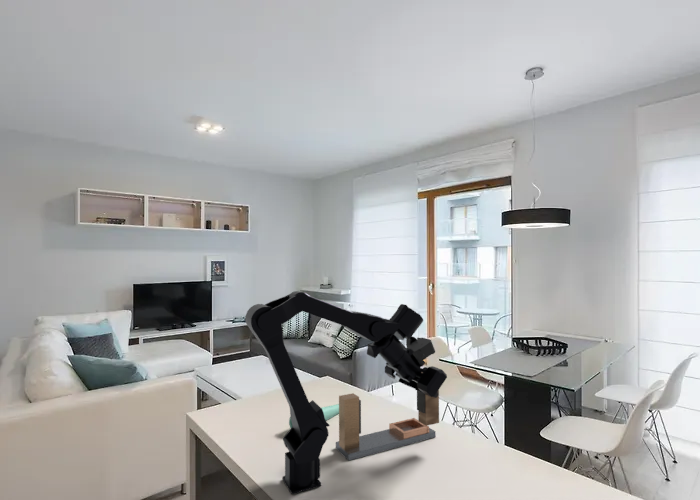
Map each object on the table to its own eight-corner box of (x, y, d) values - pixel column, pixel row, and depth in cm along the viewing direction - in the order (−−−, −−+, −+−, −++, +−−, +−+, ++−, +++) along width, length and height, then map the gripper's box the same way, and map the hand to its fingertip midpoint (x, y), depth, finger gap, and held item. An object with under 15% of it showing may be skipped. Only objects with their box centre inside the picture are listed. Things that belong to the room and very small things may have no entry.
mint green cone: (359, 389, 126) (303, 416, 104) (359, 407, 125) (303, 437, 104) (346, 386, 129) (288, 412, 107) (346, 403, 129) (288, 432, 107)
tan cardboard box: (423, 426, 93) (423, 375, 94) (416, 421, 96) (416, 372, 97) (439, 422, 95) (438, 373, 96) (431, 418, 98) (431, 370, 99)
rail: (348, 460, 91) (348, 402, 91) (335, 448, 97) (335, 393, 97) (435, 437, 103) (434, 385, 103) (419, 427, 109) (418, 378, 109)
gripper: (440, 334, 87) (477, 378, 91) (394, 323, 103) (427, 360, 108) (411, 374, 83) (451, 417, 87) (368, 355, 100) (404, 393, 104)
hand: (432, 394), depth 97 cm, fingers closed on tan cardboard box, 3 cm apart
